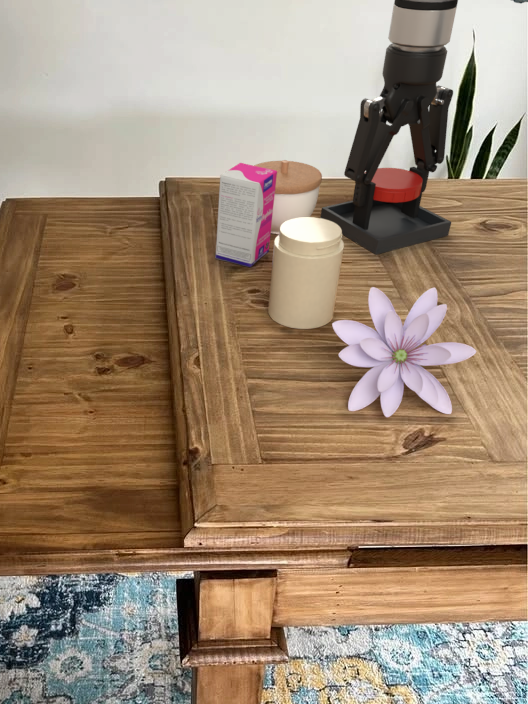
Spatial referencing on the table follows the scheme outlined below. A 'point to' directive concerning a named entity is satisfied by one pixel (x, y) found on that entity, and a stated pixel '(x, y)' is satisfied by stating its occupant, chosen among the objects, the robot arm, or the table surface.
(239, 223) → the supplement box
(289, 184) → the trinket box
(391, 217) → the tray
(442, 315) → the water lily
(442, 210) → the table surface
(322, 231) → the jam jar
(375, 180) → the jam lid
